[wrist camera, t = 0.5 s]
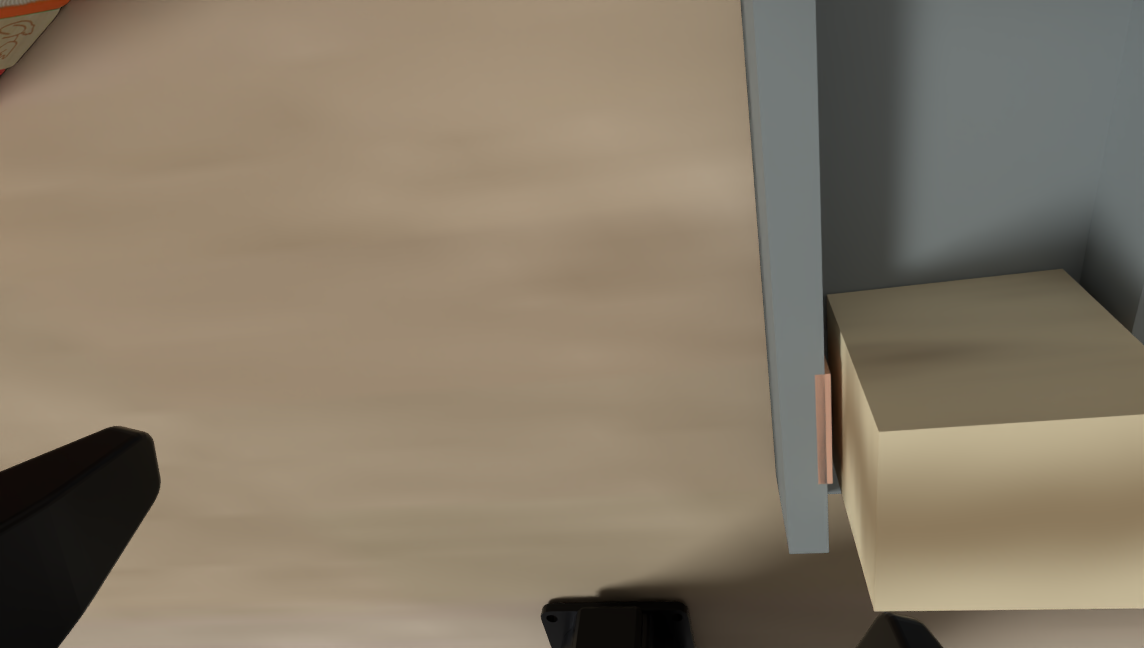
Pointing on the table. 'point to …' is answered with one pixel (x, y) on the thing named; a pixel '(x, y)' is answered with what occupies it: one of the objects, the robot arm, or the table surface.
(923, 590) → the block
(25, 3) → the stack of blocks
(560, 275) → the table surface
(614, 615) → the robot arm
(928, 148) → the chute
